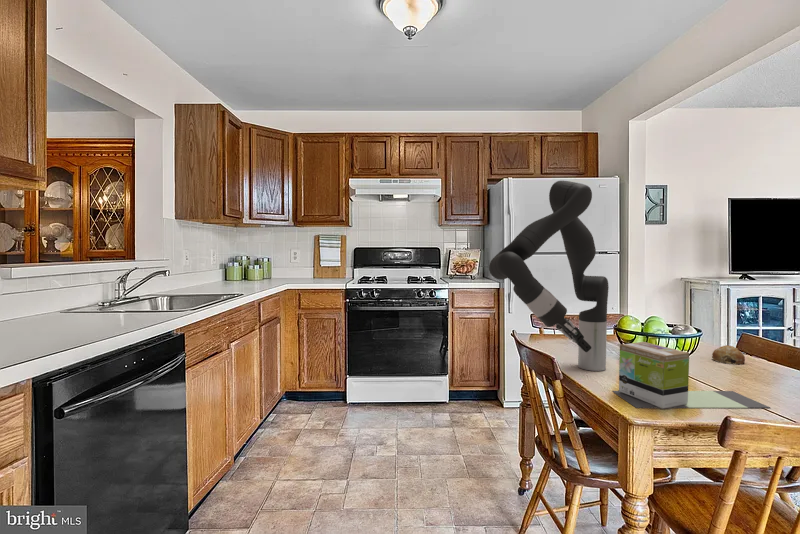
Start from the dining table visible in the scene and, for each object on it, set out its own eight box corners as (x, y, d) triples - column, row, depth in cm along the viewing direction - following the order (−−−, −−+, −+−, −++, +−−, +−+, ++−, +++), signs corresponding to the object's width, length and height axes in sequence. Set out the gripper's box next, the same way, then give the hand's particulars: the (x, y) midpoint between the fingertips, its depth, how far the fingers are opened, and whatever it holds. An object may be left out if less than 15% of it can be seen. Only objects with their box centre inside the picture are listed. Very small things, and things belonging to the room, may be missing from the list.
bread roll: (715, 371, 171) (719, 355, 168) (706, 354, 180) (710, 338, 176) (746, 374, 168) (750, 357, 165) (735, 356, 177) (740, 340, 173)
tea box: (617, 392, 134) (618, 343, 134) (642, 388, 138) (643, 340, 137) (662, 409, 120) (664, 354, 120) (689, 404, 124) (690, 351, 123)
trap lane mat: (612, 391, 136) (612, 390, 136) (732, 391, 136) (732, 391, 136) (636, 408, 122) (636, 407, 122) (770, 408, 122) (770, 407, 122)
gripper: (563, 300, 121) (608, 345, 122) (547, 295, 135) (588, 336, 135) (543, 319, 122) (588, 364, 122) (529, 312, 135) (570, 353, 135)
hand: (588, 349), depth 128 cm, fingers closed
